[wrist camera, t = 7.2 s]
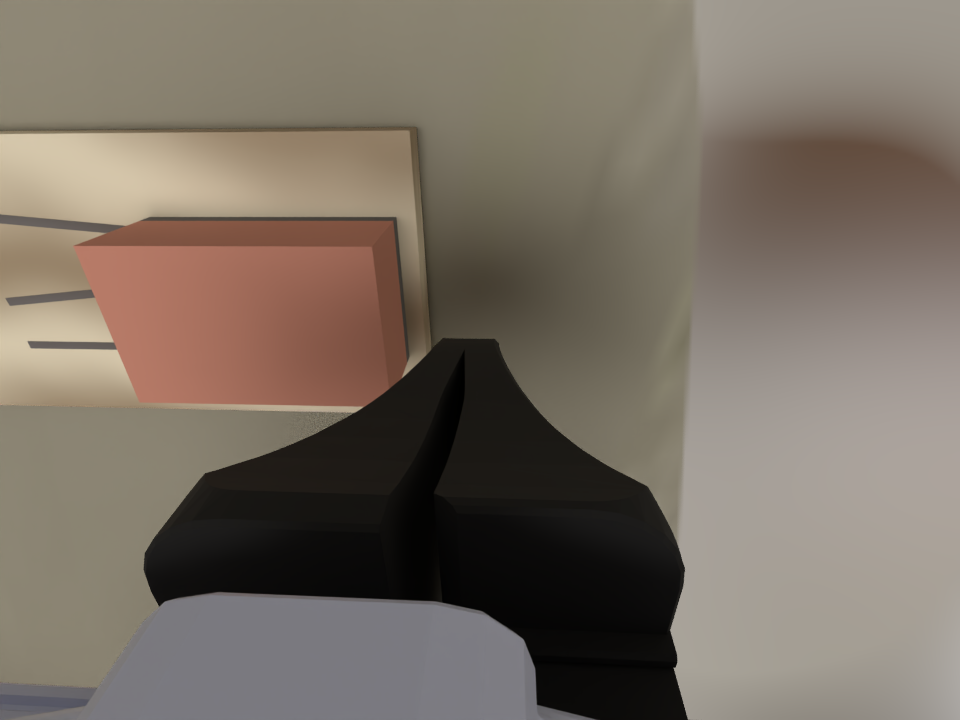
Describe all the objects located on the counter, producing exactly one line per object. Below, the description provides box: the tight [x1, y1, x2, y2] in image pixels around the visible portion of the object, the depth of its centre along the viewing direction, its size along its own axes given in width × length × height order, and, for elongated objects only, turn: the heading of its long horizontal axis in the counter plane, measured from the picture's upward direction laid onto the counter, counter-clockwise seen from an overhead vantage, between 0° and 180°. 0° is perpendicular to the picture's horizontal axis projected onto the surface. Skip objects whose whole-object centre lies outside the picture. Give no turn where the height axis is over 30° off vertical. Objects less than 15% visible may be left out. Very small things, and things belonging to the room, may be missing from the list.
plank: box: [0, 127, 431, 413], centre depth 18 cm, size 10×22×1 cm, turn 91°
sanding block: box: [73, 217, 410, 407], centre depth 15 cm, size 5×8×3 cm, turn 91°
